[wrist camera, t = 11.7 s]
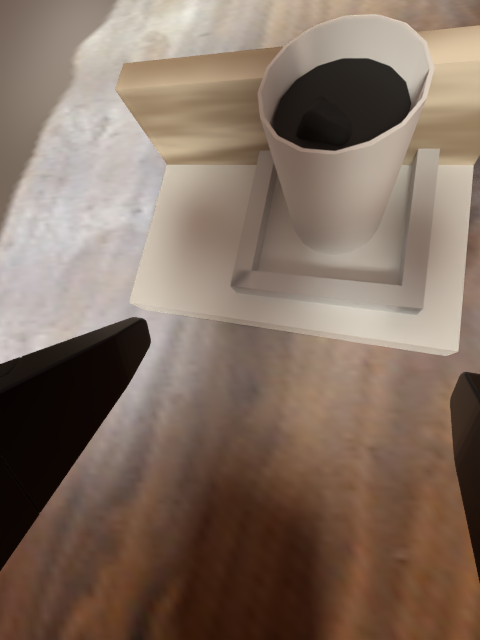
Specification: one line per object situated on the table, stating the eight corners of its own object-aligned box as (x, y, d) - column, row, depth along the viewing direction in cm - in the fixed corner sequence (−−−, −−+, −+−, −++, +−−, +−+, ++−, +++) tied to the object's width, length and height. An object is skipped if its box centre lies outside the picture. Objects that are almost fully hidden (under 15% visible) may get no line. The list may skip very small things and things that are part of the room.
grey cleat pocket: (446, 356, 20) (468, 347, 17) (143, 309, 27) (117, 296, 24) (461, 184, 23) (484, 147, 19) (177, 179, 29) (158, 151, 26)
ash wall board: (461, 184, 23) (539, 55, 14) (177, 179, 29) (115, 89, 21) (464, 159, 23) (541, 19, 15) (182, 160, 29) (123, 63, 21)
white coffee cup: (361, 276, 21) (386, 175, 12) (270, 240, 23) (229, 131, 14) (406, 188, 21) (465, 24, 12) (313, 161, 24) (302, 5, 14)
